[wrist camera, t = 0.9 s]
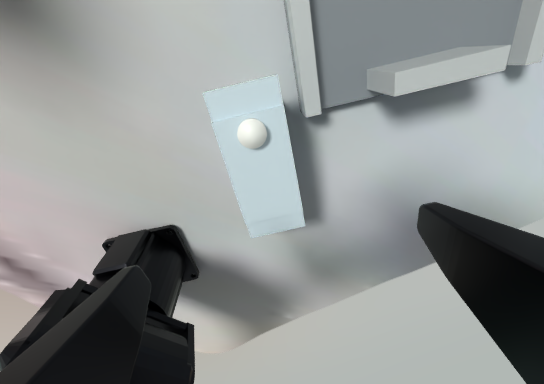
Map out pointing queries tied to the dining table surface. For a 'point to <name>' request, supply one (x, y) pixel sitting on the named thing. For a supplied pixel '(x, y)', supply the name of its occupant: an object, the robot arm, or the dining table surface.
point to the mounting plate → (405, 45)
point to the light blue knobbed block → (257, 153)
